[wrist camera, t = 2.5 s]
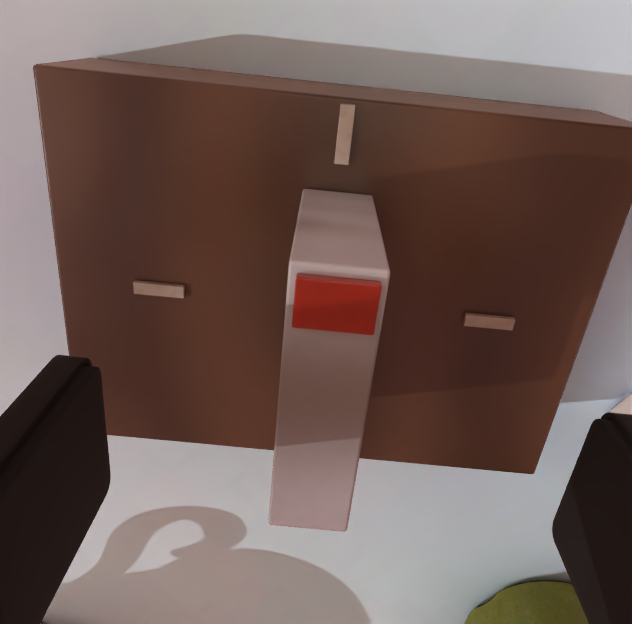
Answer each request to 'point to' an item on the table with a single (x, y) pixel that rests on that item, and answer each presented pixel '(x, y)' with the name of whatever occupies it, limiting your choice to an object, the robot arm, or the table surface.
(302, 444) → the tap handle
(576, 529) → the robot arm
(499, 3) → the table surface
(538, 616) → the plant pot
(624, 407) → the medicine bottle
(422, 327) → the tap base
